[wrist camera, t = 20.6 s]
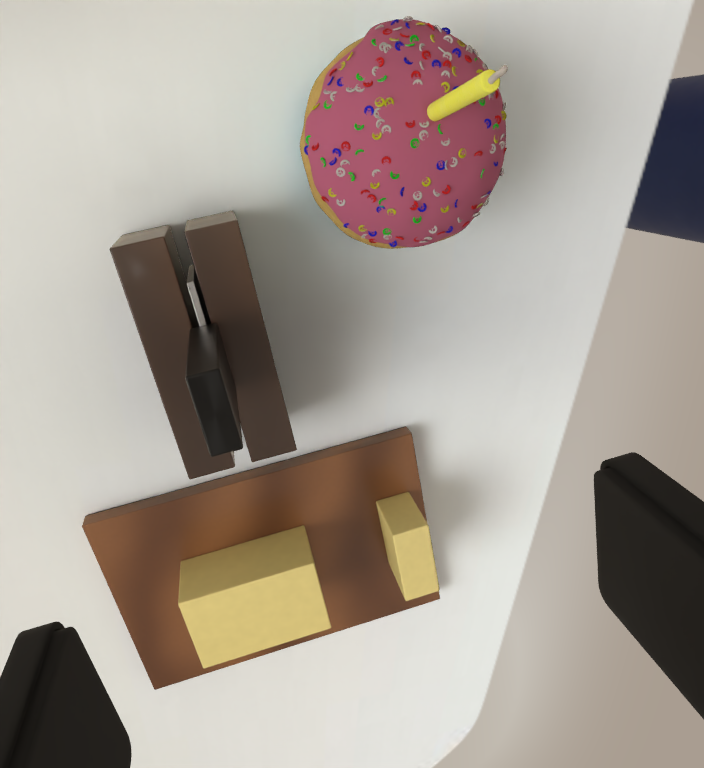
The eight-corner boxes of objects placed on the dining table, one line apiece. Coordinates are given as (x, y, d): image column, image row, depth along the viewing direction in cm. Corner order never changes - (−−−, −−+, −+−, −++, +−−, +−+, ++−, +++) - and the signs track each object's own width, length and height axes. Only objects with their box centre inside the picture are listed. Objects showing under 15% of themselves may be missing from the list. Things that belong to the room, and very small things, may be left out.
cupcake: (312, 14, 27) (387, -76, 16) (485, 73, 29) (654, 31, 18) (271, 213, 29) (311, 254, 18) (434, 252, 32) (554, 309, 21)
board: (406, 425, 35) (412, 433, 34) (435, 588, 40) (440, 599, 39) (84, 515, 33) (81, 526, 32) (155, 677, 37) (154, 690, 36)
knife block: (233, 210, 29) (237, 219, 25) (286, 416, 33) (297, 450, 30) (121, 235, 28) (109, 248, 25) (191, 442, 33) (189, 480, 29)
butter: (304, 524, 35) (313, 562, 31) (320, 586, 36) (331, 628, 33) (180, 560, 34) (177, 604, 31) (203, 622, 36) (203, 669, 32)
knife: (204, 261, 29) (203, 315, 20) (242, 392, 32) (256, 493, 23) (179, 267, 29) (166, 324, 20) (219, 398, 32) (224, 502, 23)
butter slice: (408, 490, 35) (428, 524, 32) (420, 553, 37) (440, 591, 34) (375, 500, 35) (392, 536, 32) (388, 562, 37) (405, 602, 34)
